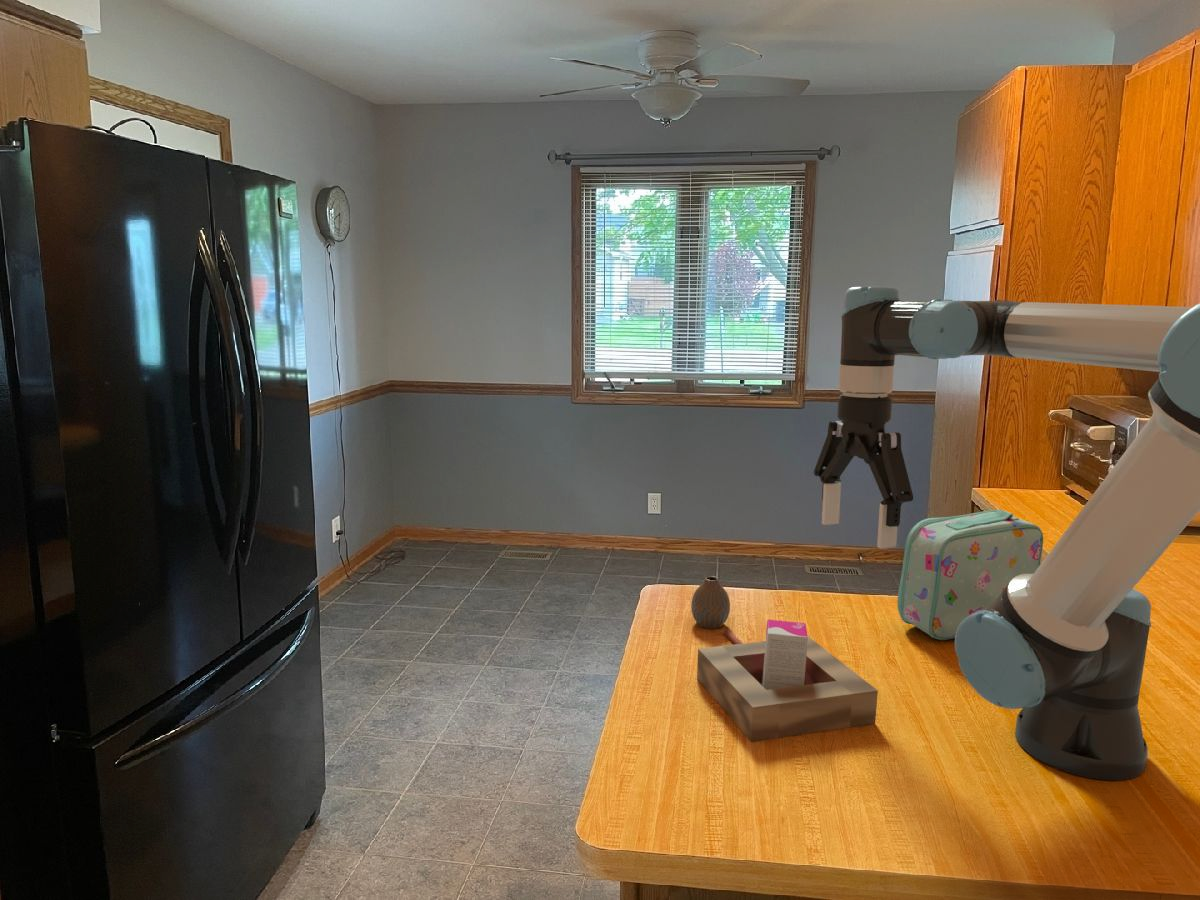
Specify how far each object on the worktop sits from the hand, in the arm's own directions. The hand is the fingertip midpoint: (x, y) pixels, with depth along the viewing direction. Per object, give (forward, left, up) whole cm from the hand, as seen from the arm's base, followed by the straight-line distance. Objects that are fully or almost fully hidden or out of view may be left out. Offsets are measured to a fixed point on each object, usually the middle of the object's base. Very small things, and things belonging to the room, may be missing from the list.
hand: (857, 535), depth 124 cm
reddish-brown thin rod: (+15, +11, -23) cm, 30 cm away
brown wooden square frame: (-3, +13, -23) cm, 27 cm away
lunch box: (+14, -33, -24) cm, 43 cm away
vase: (+26, +12, -24) cm, 37 cm away
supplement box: (-3, +13, -24) cm, 27 cm away
